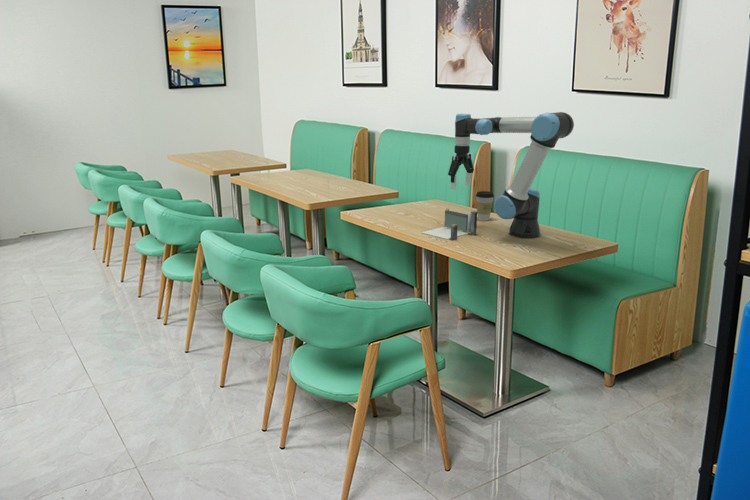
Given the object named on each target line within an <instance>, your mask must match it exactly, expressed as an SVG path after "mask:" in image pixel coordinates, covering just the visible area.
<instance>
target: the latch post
mask: <svg viewBox="0 0 750 500" xmlns="http://www.w3.org/2000/svg"><path fill="white" fill-rule="evenodd" d="M457 227H458V226H457V224H452V225H451V228H450V229H451V239H450V240H452V241H457V240H458V237H457V230H458V229H457Z"/></svg>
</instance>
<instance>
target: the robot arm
mask: <svg viewBox="0 0 750 500" xmlns="http://www.w3.org/2000/svg"><path fill="white" fill-rule="evenodd" d="M471 115H472V114H471V113H457V114H456V115H455V122H454V127H455V128H454V150H453V151H454V153H455V154H456V155H452V156H451V162H450V166H449V169H448V172H447V175H448V176H450V189H452V190H456V189H457V174H458V173H457V172H458V171H459V169H460V166H462V165H463V166H464V169H465V171H466V172H465V182H464V184H465V186H467V187H468V186H469V187H470V186H471V184H472V183H471V182H472V181H471V180H472V174H473V173H474V171H475V168H474V164H473V159H472V154H471V153H470V151H471V150H470V149H471V147H470V145H471V135H479V136H488V135H490V134H530V136H529V138H530V141H531V143H530V144H529V147H528V149H527V151H526V153H525V154H524V156H523V159H522V161H521V163H520V165H519V167H518V169H517V171H516V174H515V176H514V178H512V182H511V183H510V185H508V186H507V185H506V187H505V189H504V191H503V193H502V195H499V196H497V197H496V199H495V201H494V203H493V206H494V207H493V208H494V210H495V214H496V215H497V216H498V217H499V218H500V219H502V220H512V219H513V220H512V222H511V225H510V227H509V229H508V230H509V231H508V234H509V235H510V236H512V237H515V238H521V239H536V238H539V237H540V236H541V229H540V225H539V211H540V210H539V208H540V198H541V196H540V194H541V193H540V191H539V190H537V189H533V188H532V189H531V186H532V184H533V182H534V180H535V179H536V177H537V175H538V173H539V171H540V169H541V167H542V165H543V162H544V161H545V158H546V157H547V155H548V153H549V151H550V150H551V149H554V148H555V147H556V145H557V142H558V141H559V139H563V138H566V137H568V136H569V135H571V133H572V132H573V130H574V126H575V123H574V119H573V117H572V116H571V115H570V114H568V113H567V112H563V111H558V112H545V113H541V114H539V115H537V116H513V117H511V116H509V117H508V116H506V117H501V116H496V117H485V118H484V117H483V118H472V116H471Z"/></svg>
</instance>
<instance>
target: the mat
mask: <svg viewBox="0 0 750 500" xmlns="http://www.w3.org/2000/svg"><path fill="white" fill-rule="evenodd" d="M420 233H421V234H422V233H423V234H424V235H426V234H427V235H428V236H431V237H435V238H439V239H443V240H451V228H449V227H445V226H441V227H437V228H433V229H430V230H424V231H421V232H420ZM469 234H470V232H467V231H462V230H458V229H457V238H458V237H462V236H465V235H469Z"/></svg>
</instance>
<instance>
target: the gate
mask: <svg viewBox="0 0 750 500" xmlns="http://www.w3.org/2000/svg"><path fill="white" fill-rule="evenodd" d="M452 224H457V226H458V227H457V230H459V231H463V232H467V233H470V232H471V213H463V212H459V211H453V210H450V208H449V207H445V210H444V227H445V228H450V229H451V225H452Z"/></svg>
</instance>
